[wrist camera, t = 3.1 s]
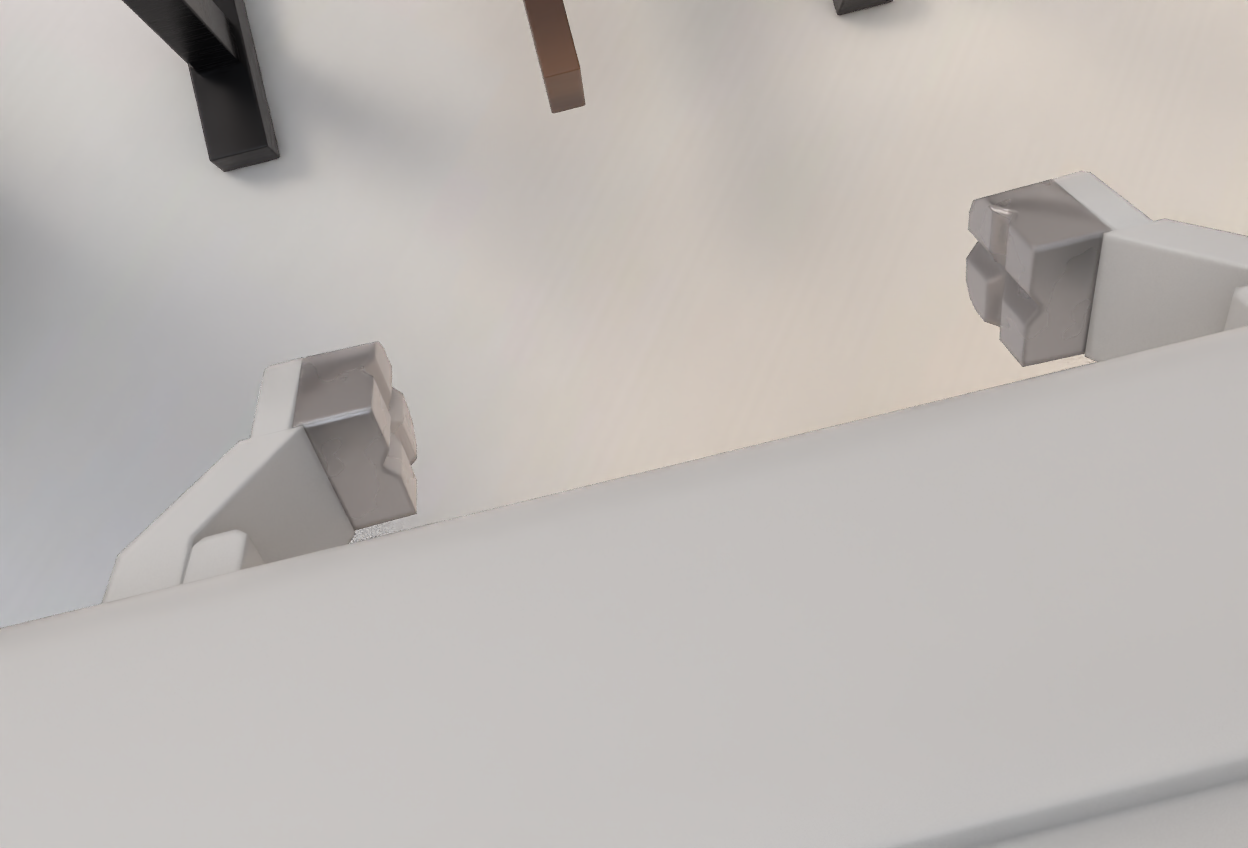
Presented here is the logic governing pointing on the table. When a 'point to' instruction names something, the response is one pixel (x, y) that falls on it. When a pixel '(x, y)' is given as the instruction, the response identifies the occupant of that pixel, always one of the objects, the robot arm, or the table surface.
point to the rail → (242, 72)
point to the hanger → (556, 53)
